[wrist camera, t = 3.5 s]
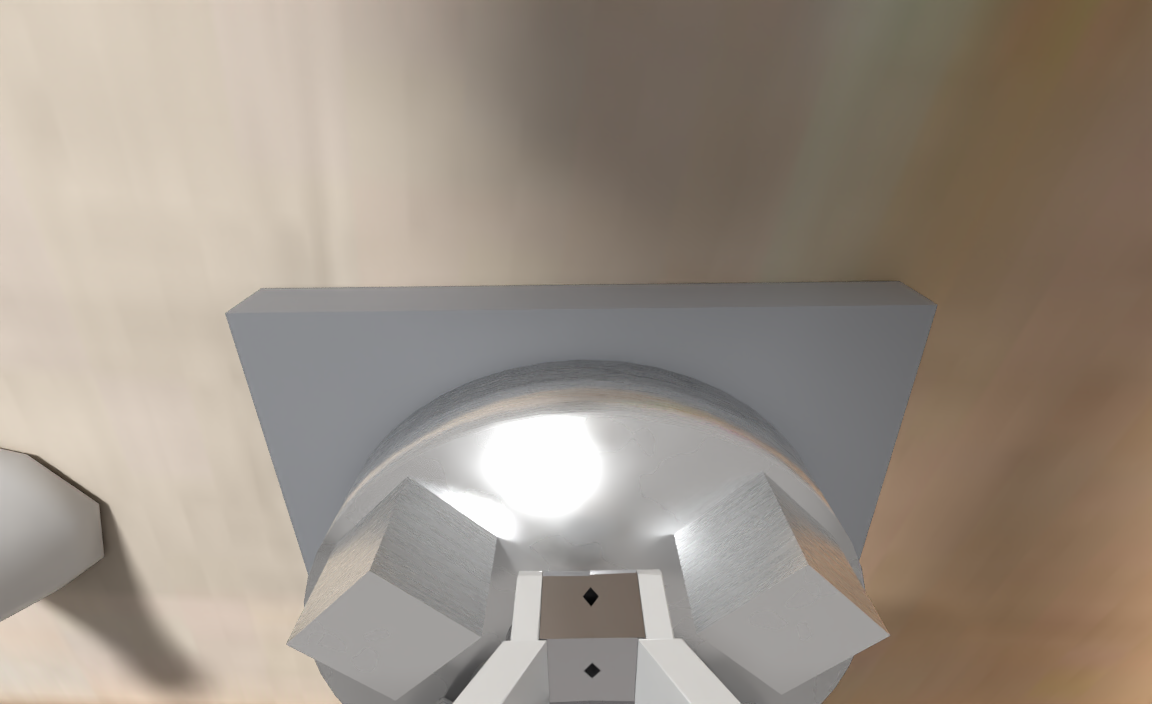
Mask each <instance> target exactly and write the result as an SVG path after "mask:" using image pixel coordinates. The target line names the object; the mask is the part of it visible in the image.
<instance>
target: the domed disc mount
mask: <svg viewBox="0 0 1152 704" xmlns="http://www.w3.org/2000/svg"><path fill="white" fill-rule="evenodd" d="M651 569H660V571H661V572H662V575H663V581H664V586H665V591H666V596H667V601H668V607H669V612H670V617H671V622H672V627H673V633H674V638H680V639H683V640H684V641H685V643H686V644H687V645H688V646H689V647H690V648H691V649H692V650H693V651H694V652H695V653H696V655H697V656H698V657H699V658H700V659H701V660H702V661H703V662H704V663H705V664H706V666H707V667H708V668H709V669H710V670H711V671H712V672H713V673H714V674H715V675H716V677H717V678H718V679H719V680H720V681H721V682H722V683H723V684H724V685H725V686H726V688H727V689H728V690H729V691H730V692H731V693H732V694H733V695H734V696H735V697H736V699H737V700H738V701H739V702H740V703H741V704H822V702H823V701H824V700H825V699H826V698H827V697H828V695H829V694H830V693H831V692H832V691H833V690H834V689H835V687H836V686H837V684H838V683H839V681H840V680H841V678H842V676H843V675H844V673H845V672H846V670H847V669H848V667H849V665H850V663H851V661H852V658H853V656H854V655H856V654H857V653H859V652H861V651H863V650H865V649H867V648H868V647H870V646H872V645H874V644H876V643H878V642H879V641H881V640H883V639H885V638H887V637H889V636H890V634H889V632H888V630H887V628H886V627H885V625H884V623H883V622H882V620H881V618H880V616H879V615H878V613H877V611H876V609H875V608H874V606H873V604H872V602H871V601H870V599H869V597H868V595H867V594H866V592H865V586H864V580H863V573H862V568H861V565H860V563H859V560H858V557H857V555H856V552H855V549H854V547H853V544H852V542H851V540H850V539H849V537H848V535H847V534H846V532H845V530H844V529H843V527H842V526H841V524H840V522H839V521H838V519H837V517H836V516H835V514H834V512H833V511H832V509H831V507H830V506H829V504H828V502H827V501H826V499H825V497H824V496H823V494H822V492H821V491H820V489H819V487H818V486H817V484H816V483H815V481H814V479H813V478H812V476H811V474H810V473H809V471H808V469H807V468H806V466H805V465H804V463H803V461H802V460H801V458H800V456H799V455H798V453H797V452H796V450H795V449H794V448H793V447H792V445H791V444H790V443H789V442H788V441H787V440H786V439H785V437H784V436H783V435H782V434H781V433H780V432H779V431H778V429H777V428H775V427H774V426H773V425H772V424H771V423H769V422H768V421H767V420H766V419H765V418H763V417H762V416H761V415H760V414H759V413H757V412H756V411H755V410H754V409H752V408H751V407H749V406H748V405H746V404H744V403H743V402H741V401H739V400H738V399H736V398H734V397H733V396H731V395H729V394H728V393H726V392H724V391H722V390H720V389H718V388H715V387H713V386H711V385H708V384H706V383H704V382H702V381H699V380H697V379H695V378H692V377H689V376H685V375H682V374H678V373H675V372H672V371H668V370H665V369H661V368H658V367H652V366H646V365H640V364H633V363H627V362H621V361H600V360H572V361H557V362H544V363H539V364H534V365H528V366H523V367H518V368H512V369H507V370H504V371H501V372H498V373H495V374H492V375H488V376H485V377H482V378H479V379H476V380H473V381H470V382H468V383H466V384H464V385H462V386H460V387H458V388H455V389H453V390H451V391H449V392H447V393H445V394H442V395H440V396H439V397H437V398H436V399H434V400H432V401H431V402H429V403H428V404H426V405H425V406H423V407H421V408H420V409H418V410H417V411H415V412H414V413H412V414H411V415H410V416H409V417H408V418H406V419H405V420H404V421H403V422H402V423H401V424H399V425H398V426H397V427H396V428H395V429H394V430H392V431H391V432H390V433H389V434H388V435H387V436H386V437H385V439H384V440H383V441H382V442H381V443H380V444H379V446H378V447H377V448H376V449H375V450H374V451H373V453H372V454H371V455H370V456H369V458H368V460H367V461H366V463H365V465H364V466H363V468H362V470H361V471H360V473H359V475H358V476H357V478H356V480H355V482H354V483H353V485H352V487H351V489H350V491H349V493H348V495H347V497H346V498H345V500H344V502H343V504H342V506H341V508H340V510H339V512H338V514H337V515H336V517H335V519H334V521H333V523H332V525H331V527H330V529H329V530H328V532H327V534H326V536H325V538H324V540H323V542H322V544H321V545H320V547H319V549H318V551H317V554H316V557H315V559H314V562H313V565H312V568H311V570H310V573H309V576H308V580H307V587H306V593H305V599H304V609H303V611H302V613H301V615H300V617H299V619H298V621H297V623H296V625H295V627H294V629H293V631H292V633H291V635H290V637H289V639H288V641H287V643H286V645H288V646H290V647H292V648H294V649H296V650H298V651H300V652H302V653H304V654H306V655H307V656H309V657H311V658H313V659H315V662H316V664H317V666H318V668H319V671H320V673H321V675H322V676H323V678H324V679H325V681H326V682H327V684H328V685H329V687H330V688H331V690H332V691H333V693H334V695H335V696H336V697H337V698H338V699H339V700H340V701H341V703H342V704H453V702H454V701H455V700H456V699H457V698H458V696H459V695H460V694H461V693H462V691H463V690H464V689H465V688H466V686H467V685H468V684H469V683H470V681H471V680H472V679H473V678H474V676H475V675H476V674H477V673H478V672H479V670H480V669H481V668H482V667H483V665H484V664H485V663H486V662H487V660H488V659H489V658H490V657H491V655H492V654H493V653H494V652H495V650H496V649H497V648H498V647H499V646H500V644H501V643H502V642H503V641H510V639H511V630H512V621H513V612H514V602H515V593H516V584H517V577H518V574H519V571H599V570H651ZM550 704H635V701H592V700H591V701H569V702H550Z"/></svg>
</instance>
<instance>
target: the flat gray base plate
mask: <svg viewBox="0 0 1152 704" xmlns="http://www.w3.org/2000/svg"><path fill="white" fill-rule="evenodd" d="M936 309H937V304H935V303H934V302H932V301H931V300H929V299H927V298H926V297H924V296H923V295H921V294H919V293H918V292H916V291H915V290H913V289H911V288H910V287H908V286H907V285H905V284H903V283H902V282H900V281H873V282H785V283H698V284H610V285H523V286H435V287H348V288H261V289H260V290H258V291H257V292H255V293H254V294H252V295H251V296H249V297H248V298H246V299H245V300H244V301H242V302H241V303H239V304H238V305H236V306H235V307H233V308H232V309H230V310H229V311H228V312H226V313H225V314H226V317H227V321H228V324H229V327H230V330H231V333H232V336H233V339H234V343H235V346H236V349H237V352H238V355H239V358H240V361H241V365H242V368H243V371H244V374H245V377H246V380H247V383H248V387H249V390H250V393H251V396H252V399H253V402H254V405H255V409H256V412H257V415H258V418H259V421H260V424H261V428H262V431H263V434H264V437H265V440H266V443H267V446H268V450H269V453H270V456H271V459H272V462H273V465H274V468H275V472H276V475H277V478H278V481H279V484H280V487H281V490H282V494H283V497H284V500H285V503H286V506H287V509H288V512H289V516H290V519H291V522H292V525H293V528H294V531H295V534H296V538H297V541H298V544H299V547H300V550H301V553H302V556H303V560H304V563H305V566H306V569H307V572H308V575H309V573H310V570H311V568H312V565H313V562H314V559H315V557H316V554H317V551H318V549H319V547H320V545H321V544H322V542H323V540H324V538H325V536H326V534H327V532H328V530H329V529H330V527H331V525H332V523H333V521H334V519H335V517H336V515H337V514H338V512H339V510H340V508H341V506H342V504H343V502H344V500H345V498H346V497H347V495H348V493H349V491H350V489H351V487H352V485H353V483H354V482H355V480H356V478H357V476H358V475H359V473H360V471H361V470H362V468H363V466H364V465H365V463H366V461H367V460H368V458H369V456H370V455H371V454H372V453H373V451H374V450H375V449H376V448H377V447H378V446H379V444H380V443H381V442H382V441H383V440H384V439H385V437H386V436H387V435H388V434H389V433H390V432H391V431H392V430H394V429H395V428H396V427H397V426H398V425H399V424H401V423H402V422H403V421H404V420H405V419H406V418H408V417H409V416H410V415H411V414H412V413H414V412H415V411H417V410H418V409H420V408H421V407H423V406H425V405H426V404H428V403H429V402H431V401H432V400H434V399H436V398H437V397H439V396H440V395H442V394H445V393H447V392H449V391H451V390H453V389H455V388H458V387H460V386H462V385H464V384H466V383H468V382H470V381H473V380H476V379H479V378H482V377H485V376H488V375H492V374H495V373H498V372H501V371H504V370H507V369H512V368H518V367H523V366H528V365H534V364H539V363H544V362H557V361H572V360H600V361H621V362H627V363H633V364H640V365H646V366H652V367H658V368H661V369H665V370H668V371H672V372H675V373H678V374H682V375H685V376H689V377H692V378H695V379H697V380H699V381H702V382H704V383H706V384H708V385H711V386H713V387H715V388H718V389H720V390H722V391H724V392H726V393H728V394H729V395H731V396H733V397H734V398H736V399H738V400H739V401H741V402H743V403H744V404H746V405H748V406H749V407H751V408H752V409H754V410H755V411H756V412H757V413H759V414H760V415H761V416H762V417H763V418H765V419H766V420H767V421H768V422H769V423H771V424H772V425H773V426H774V427H775V428H777V429H778V431H779V432H780V433H781V434H782V435H783V436H784V437H785V439H786V440H787V441H788V442H789V443H790V444H791V445H792V447H793V448H794V449H795V450H796V452H797V453H798V455H799V456H800V458H801V460H802V461H803V463H804V465H805V466H806V468H807V469H808V471H809V473H810V474H811V476H812V478H813V479H814V481H815V483H816V484H817V486H818V487H819V489H820V491H821V492H822V494H823V496H824V497H825V499H826V501H827V502H828V504H829V506H830V507H831V509H832V511H833V512H834V514H835V516H836V517H837V519H838V521H839V522H840V524H841V526H842V527H843V529H844V530H845V532H846V534H847V535H848V537H849V539H850V540H851V542H852V544H853V547H854V549H855V552H856V555H857V557H858V560H859V559H860V556H861V553H862V550H863V546H864V543H865V540H866V537H867V533H868V530H869V527H870V524H871V520H872V517H873V514H874V510H875V507H876V504H877V501H878V497H879V494H880V491H881V488H882V484H883V481H884V478H885V475H886V471H887V468H888V465H889V462H890V458H891V455H892V452H893V449H894V445H895V442H896V439H897V436H898V432H899V429H900V426H901V423H902V419H903V416H904V413H905V410H906V406H907V403H908V400H909V396H910V393H911V390H912V387H913V383H914V380H915V377H916V374H917V370H918V367H919V364H920V361H921V357H922V354H923V351H924V348H925V344H926V341H927V338H928V335H929V331H930V328H931V325H932V322H933V318H934V315H935V312H936Z"/></svg>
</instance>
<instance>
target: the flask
mask: <svg viewBox="0 0 1152 704" xmlns="http://www.w3.org/2000/svg"><path fill="white" fill-rule="evenodd" d="M103 557H104V549H103V539H102V529H101V519H100V509H99V504H98V503H97V502H95V501H94V500H93V499H91V498H90V497H88V496H87V495H85V494H84V493H82V492H81V491H79V490H78V489H76V488H75V487H74V486H72V485H71V484H69V483H68V482H66V481H65V480H63V479H62V478H60V477H59V476H57V475H56V474H55V473H53V472H52V471H50V470H49V469H47V468H46V467H44V466H43V465H41V464H40V463H39V462H37V461H36V460H34V459H33V458H31V457H30V456H28V455H27V454H23V453H18V452H13V451H9V450H4V449H0V622H1V621H3V620H4V619H6V618H8V617H10V616H12V615H14V614H16V613H17V612H19V611H21V610H23V609H25V608H27V607H28V606H30V605H32V604H34V603H36V602H38V601H40V600H41V599H43V598H45V597H46V596H48V595H50V594H52V593H53V592H55V591H57V590H59V589H60V588H62V587H64V586H65V585H66V584H68V583H69V582H71V581H72V580H73V579H75V578H76V577H77V576H79V575H80V574H82V573H83V572H84V571H86V570H87V569H88V568H90V567H91V566H92V565H94V564H95V563H97V562H98V561H99V560H101V559H102V558H103Z"/></svg>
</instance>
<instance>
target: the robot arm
mask: <svg viewBox="0 0 1152 704" xmlns="http://www.w3.org/2000/svg"><path fill="white" fill-rule="evenodd" d="M591 700H592V701H635V704H741V703H740V702H739V701H738V700H737V699H736V697H735V696H734V695H733V694H732V693H731V692H730V691H729V690H728V689H727V688H726V686H725V685H724V684H723V683H722V682H721V681H720V680H719V679H718V678H717V677H716V675H715V674H714V673H713V672H712V671H711V670H710V669H709V668H708V667H707V666H706V664H705V663H704V662H703V661H702V660H701V659H700V658H699V657H698V656H697V655H696V653H695V652H694V651H693V650H692V649H691V648H690V647H689V646H688V645H687V644H686V643H685V641H684V640H683V639H680V638H674V633H673V627H672V622H671V617H670V612H669V607H668V601H667V596H666V591H665V586H664V581H663V575H662V572H661V571H660V569H651V570H599V571H519V574H518V577H517V584H516V593H515V602H514V612H513V621H512V630H511V639H510V641H503V642H502V643H501V644H500V646H499V647H498V648H497V649H496V650H495V652H494V653H493V654H492V655H491V657H490V658H489V659H488V660H487V662H486V663H485V664H484V665H483V667H482V668H481V669H480V670H479V672H478V673H477V674H476V675H475V676H474V678H473V679H472V680H471V681H470V683H469V684H468V685H467V686H466V688H465V689H464V690H463V691H462V693H461V694H460V695H459V696H458V698H457V699H456V700H455V701H454V702H453V704H550V702H569V701H591Z"/></svg>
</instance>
